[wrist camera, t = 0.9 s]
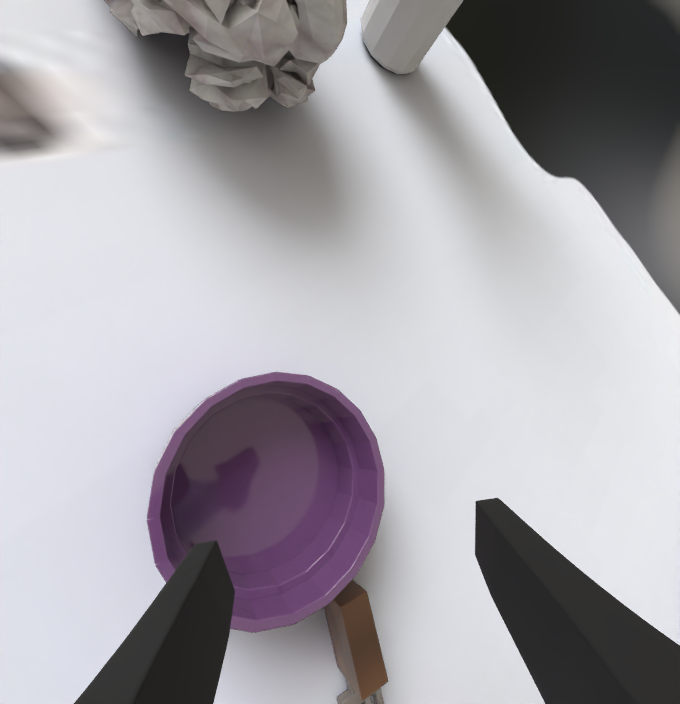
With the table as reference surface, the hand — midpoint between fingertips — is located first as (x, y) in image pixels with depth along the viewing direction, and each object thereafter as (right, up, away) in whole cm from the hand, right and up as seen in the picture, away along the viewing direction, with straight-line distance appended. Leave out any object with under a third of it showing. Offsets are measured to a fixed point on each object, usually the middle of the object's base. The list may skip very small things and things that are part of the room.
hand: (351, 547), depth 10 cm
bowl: (-5, -3, +12) cm, 13 cm away
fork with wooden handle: (0, -14, +12) cm, 18 cm away
